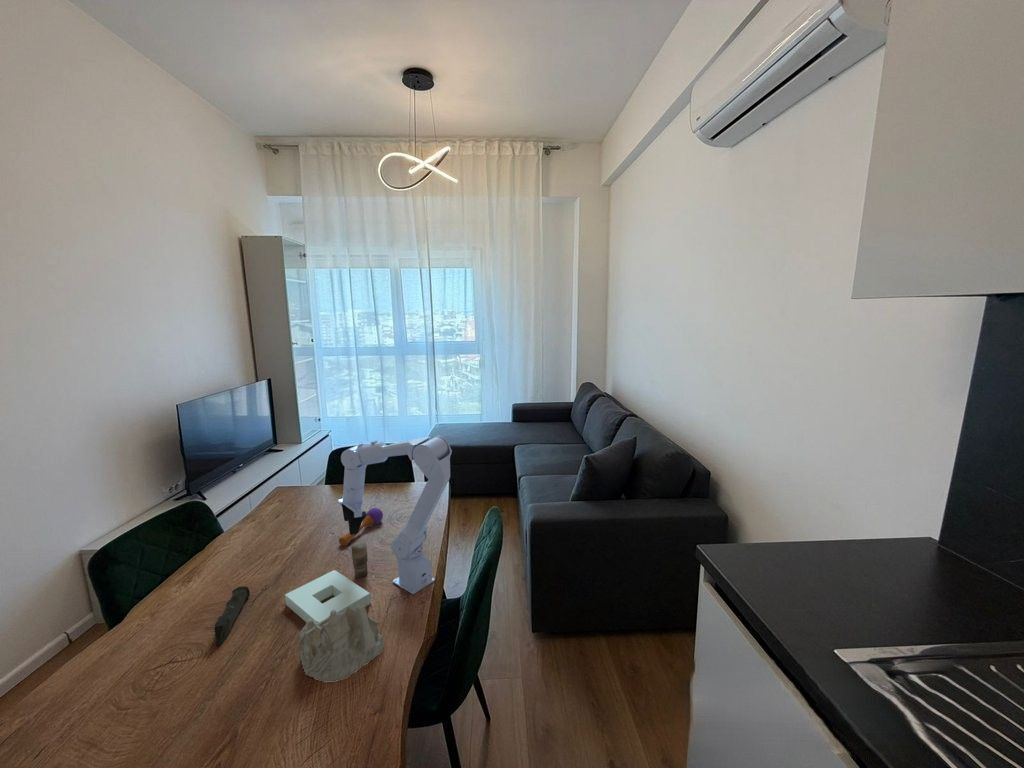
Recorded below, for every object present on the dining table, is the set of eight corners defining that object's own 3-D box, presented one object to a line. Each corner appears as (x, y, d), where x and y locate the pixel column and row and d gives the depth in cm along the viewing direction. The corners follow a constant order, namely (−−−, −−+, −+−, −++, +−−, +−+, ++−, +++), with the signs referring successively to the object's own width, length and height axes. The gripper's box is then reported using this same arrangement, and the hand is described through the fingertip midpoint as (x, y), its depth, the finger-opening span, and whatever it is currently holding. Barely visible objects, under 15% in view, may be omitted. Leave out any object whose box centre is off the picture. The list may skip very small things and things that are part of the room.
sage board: (370, 603, 114) (369, 593, 113) (319, 634, 103) (318, 623, 102) (335, 579, 125) (334, 569, 124) (286, 604, 114) (284, 594, 113)
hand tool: (234, 600, 117) (232, 584, 116) (250, 597, 118) (248, 582, 117) (204, 651, 99) (201, 633, 98) (224, 647, 100) (221, 629, 99)
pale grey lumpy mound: (392, 650, 97) (383, 589, 95) (319, 698, 86) (307, 631, 84) (362, 621, 108) (353, 566, 106) (293, 660, 97) (282, 600, 95)
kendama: (333, 534, 144) (371, 505, 162) (338, 550, 145) (375, 519, 163) (347, 533, 142) (383, 504, 160) (352, 549, 142) (387, 518, 161)
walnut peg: (371, 573, 127) (369, 545, 126) (358, 580, 124) (356, 551, 123) (363, 568, 130) (361, 541, 128) (351, 575, 127) (348, 547, 125)
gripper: (334, 476, 128) (332, 516, 131) (344, 498, 117) (341, 542, 119) (358, 473, 132) (355, 513, 135) (370, 495, 120) (367, 538, 123)
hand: (350, 526), depth 127 cm, fingers open, 7 cm apart
